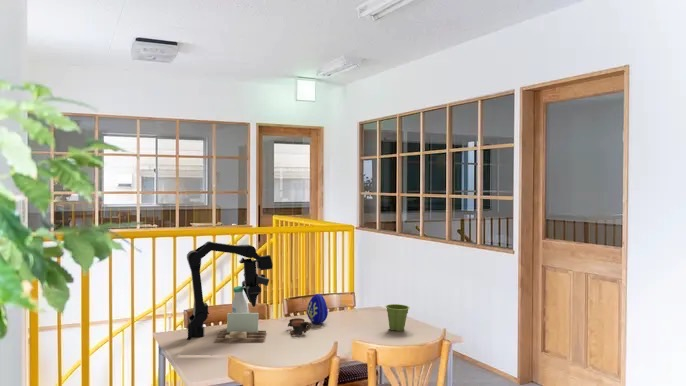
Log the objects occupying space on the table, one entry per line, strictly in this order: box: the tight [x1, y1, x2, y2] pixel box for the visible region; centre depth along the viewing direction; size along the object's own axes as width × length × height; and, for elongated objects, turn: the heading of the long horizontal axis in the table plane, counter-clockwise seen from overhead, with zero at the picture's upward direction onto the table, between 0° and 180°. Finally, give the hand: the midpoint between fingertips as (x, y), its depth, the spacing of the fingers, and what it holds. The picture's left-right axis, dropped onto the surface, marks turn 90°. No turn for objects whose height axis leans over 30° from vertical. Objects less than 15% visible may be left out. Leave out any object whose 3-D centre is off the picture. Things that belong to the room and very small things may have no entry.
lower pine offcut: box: [225, 335, 247, 338], centre depth 237 cm, size 9×3×2 cm, turn 94°
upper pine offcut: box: [230, 331, 247, 337], centre depth 237 cm, size 7×3×2 cm, turn 94°
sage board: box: [226, 312, 259, 332], centre depth 246 cm, size 14×2×10 cm, turn 94°
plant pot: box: [385, 303, 410, 332], centre depth 264 cm, size 12×12×11 cm
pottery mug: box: [287, 317, 311, 336], centre depth 254 cm, size 12×10×8 cm
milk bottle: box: [231, 285, 250, 313], centre depth 261 cm, size 8×8×20 cm
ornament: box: [306, 293, 329, 325], centre depth 274 cm, size 11×9×15 cm
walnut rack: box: [213, 330, 268, 343], centre depth 242 cm, size 22×15×2 cm
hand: (252, 304), depth 253 cm, fingers open, 9 cm apart
